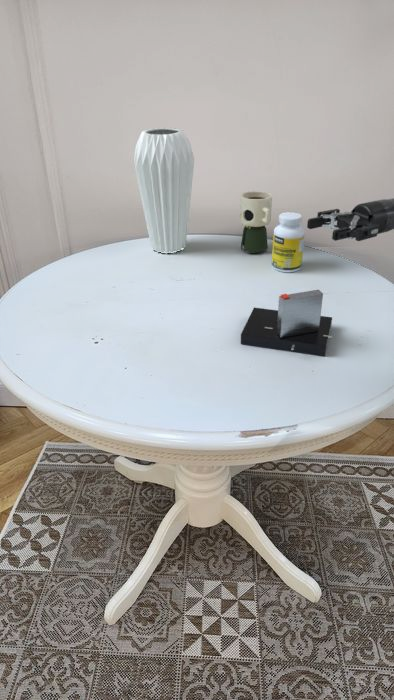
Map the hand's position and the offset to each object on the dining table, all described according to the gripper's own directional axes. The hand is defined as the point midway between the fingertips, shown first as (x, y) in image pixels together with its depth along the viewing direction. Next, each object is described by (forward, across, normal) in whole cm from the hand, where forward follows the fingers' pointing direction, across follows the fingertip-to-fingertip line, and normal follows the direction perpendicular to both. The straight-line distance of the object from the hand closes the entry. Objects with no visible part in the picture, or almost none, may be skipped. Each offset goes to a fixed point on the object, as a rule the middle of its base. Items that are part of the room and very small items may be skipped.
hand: (320, 229), depth 116 cm
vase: (+26, -24, +7) cm, 36 cm away
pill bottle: (+9, 0, +7) cm, 11 cm away
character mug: (+9, -12, +7) cm, 17 cm away
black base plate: (+27, +25, +7) cm, 37 cm away
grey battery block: (+26, +27, +5) cm, 37 cm away
